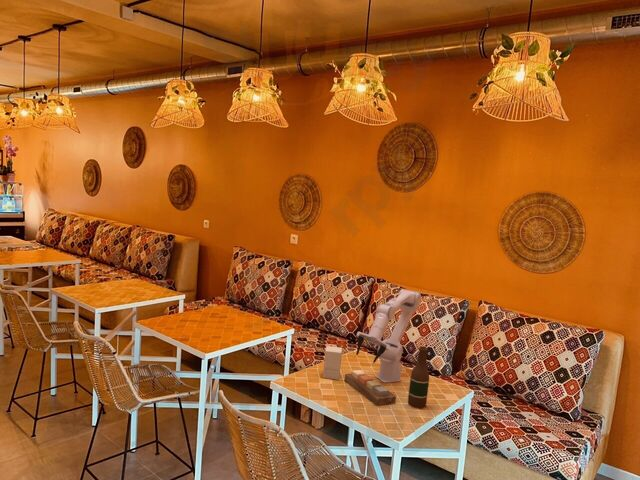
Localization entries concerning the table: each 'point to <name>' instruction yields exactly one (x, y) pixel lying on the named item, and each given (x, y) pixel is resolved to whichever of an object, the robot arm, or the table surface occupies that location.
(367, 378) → the key terracotta
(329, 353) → the supplement box
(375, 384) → the key sage
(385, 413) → the table surface
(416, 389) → the beer bottle
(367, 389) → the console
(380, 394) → the key slate
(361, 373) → the key ivory
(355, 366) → the table surface
